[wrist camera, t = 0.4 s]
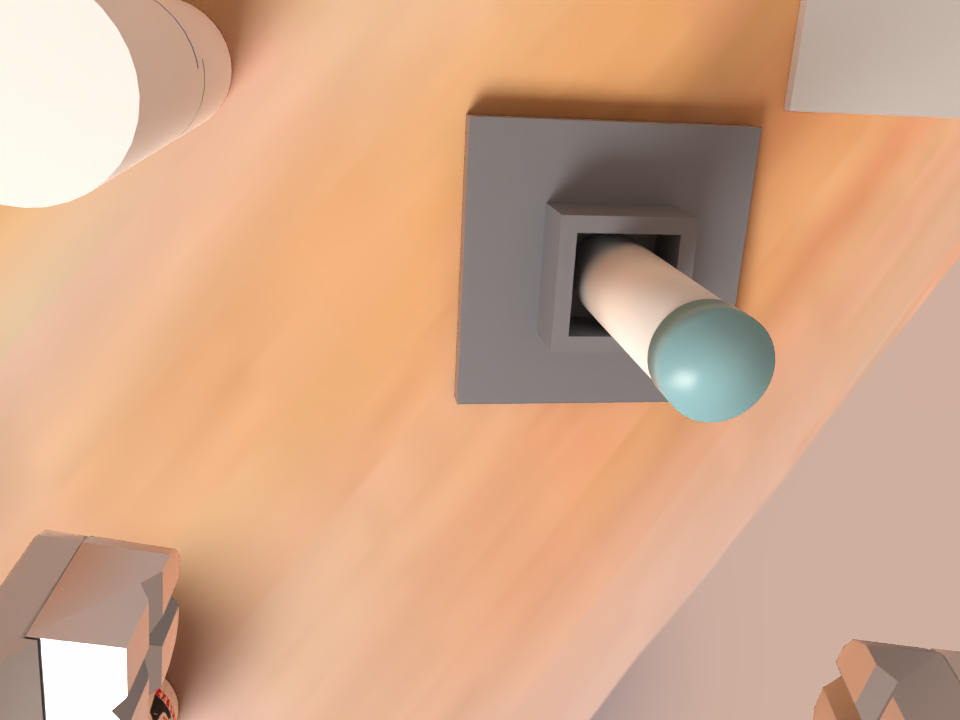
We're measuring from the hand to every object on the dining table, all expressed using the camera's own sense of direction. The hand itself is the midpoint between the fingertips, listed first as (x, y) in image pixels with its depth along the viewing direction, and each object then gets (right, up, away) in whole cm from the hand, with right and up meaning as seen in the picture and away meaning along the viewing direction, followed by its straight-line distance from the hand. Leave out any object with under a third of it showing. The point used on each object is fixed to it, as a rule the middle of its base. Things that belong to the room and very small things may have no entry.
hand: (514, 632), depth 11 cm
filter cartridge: (+7, +9, +45) cm, 47 cm away
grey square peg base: (+7, +9, +47) cm, 48 cm away
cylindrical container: (-18, +20, +39) cm, 47 cm away
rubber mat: (+25, +25, +44) cm, 56 cm away
